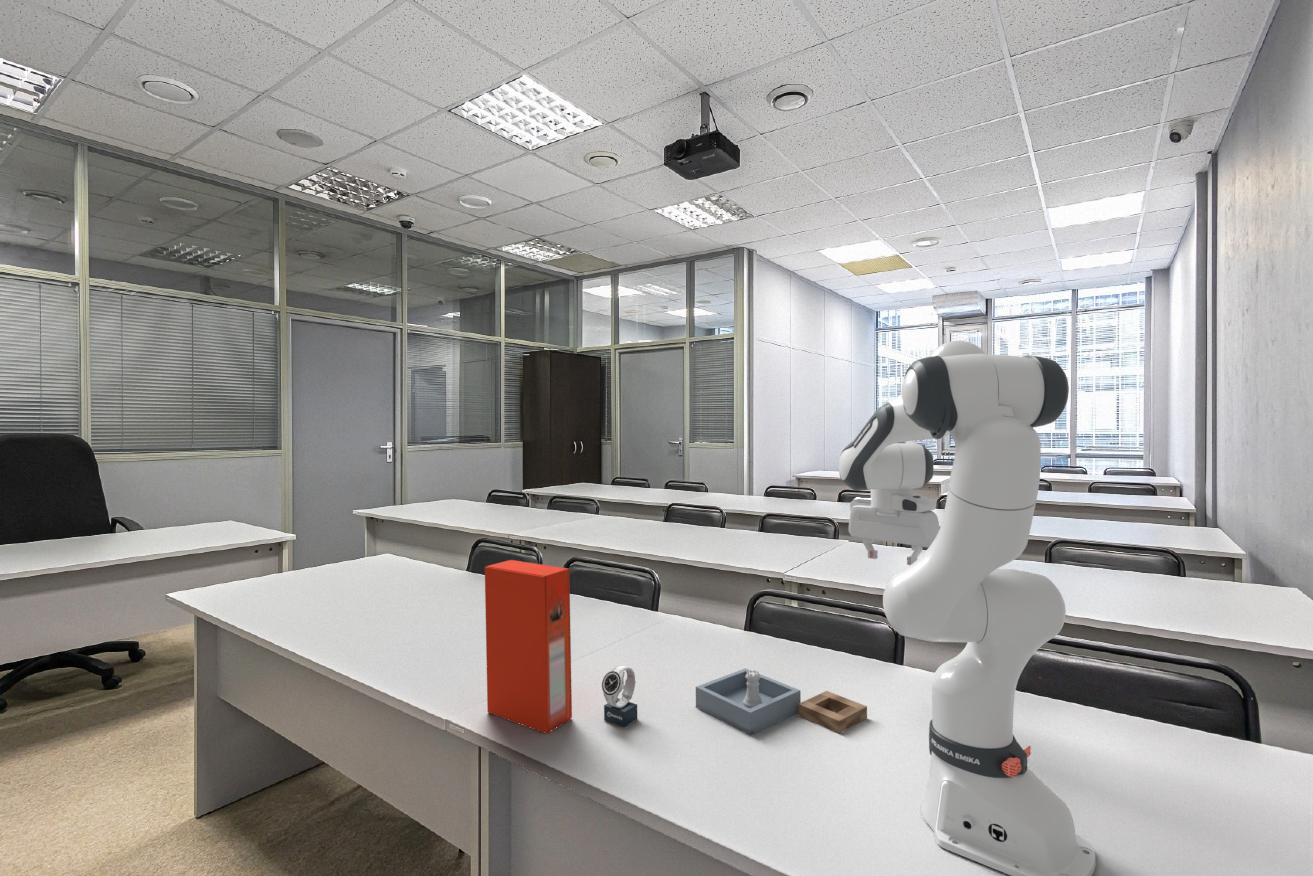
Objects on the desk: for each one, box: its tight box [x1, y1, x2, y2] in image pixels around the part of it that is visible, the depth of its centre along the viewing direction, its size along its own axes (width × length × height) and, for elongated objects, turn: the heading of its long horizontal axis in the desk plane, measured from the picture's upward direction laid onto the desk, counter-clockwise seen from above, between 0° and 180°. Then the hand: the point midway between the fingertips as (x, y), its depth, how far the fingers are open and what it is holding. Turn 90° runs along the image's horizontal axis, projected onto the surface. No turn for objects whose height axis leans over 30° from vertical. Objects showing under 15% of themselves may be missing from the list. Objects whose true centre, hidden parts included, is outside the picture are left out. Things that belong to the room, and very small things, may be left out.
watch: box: [601, 664, 638, 728], centre depth 127 cm, size 6×8×11 cm
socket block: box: [798, 690, 868, 734], centre depth 128 cm, size 10×10×2 cm
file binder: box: [484, 559, 573, 734], centre depth 129 cm, size 8×17×32 cm, turn 57°
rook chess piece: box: [743, 669, 763, 709], centre depth 129 cm, size 4×4×8 cm
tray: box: [695, 668, 802, 736], centre depth 131 cm, size 16×16×4 cm
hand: (891, 561), depth 135 cm, fingers open, 8 cm apart
